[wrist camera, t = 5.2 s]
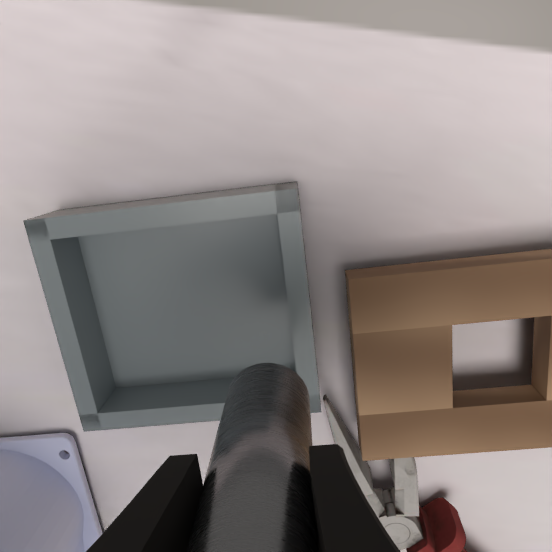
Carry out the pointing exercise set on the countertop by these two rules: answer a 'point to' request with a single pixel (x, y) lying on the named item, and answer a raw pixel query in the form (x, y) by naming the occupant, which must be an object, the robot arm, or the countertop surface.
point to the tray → (175, 300)
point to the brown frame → (446, 355)
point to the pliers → (402, 500)
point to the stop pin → (259, 469)
